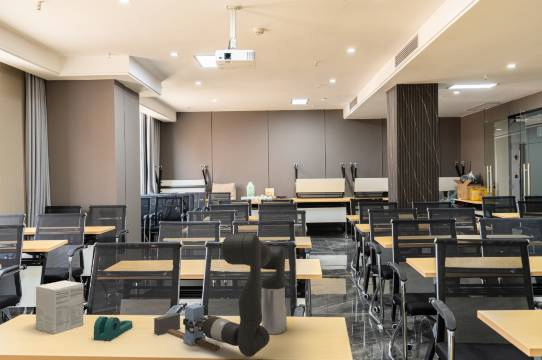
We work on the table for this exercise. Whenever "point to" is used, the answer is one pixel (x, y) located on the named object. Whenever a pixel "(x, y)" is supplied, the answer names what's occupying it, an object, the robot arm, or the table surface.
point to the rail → (197, 340)
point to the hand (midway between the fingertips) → (189, 319)
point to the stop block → (166, 323)
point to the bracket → (110, 328)
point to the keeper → (192, 314)
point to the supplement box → (59, 306)
